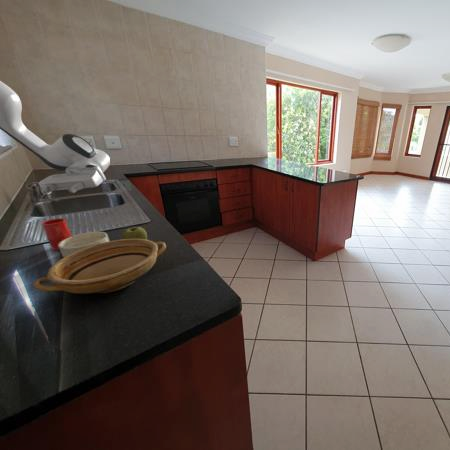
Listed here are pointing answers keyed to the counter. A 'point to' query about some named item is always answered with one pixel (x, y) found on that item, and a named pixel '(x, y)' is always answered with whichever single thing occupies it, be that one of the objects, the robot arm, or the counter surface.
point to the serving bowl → (81, 242)
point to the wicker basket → (102, 267)
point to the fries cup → (56, 231)
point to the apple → (134, 233)
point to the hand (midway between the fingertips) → (57, 192)
